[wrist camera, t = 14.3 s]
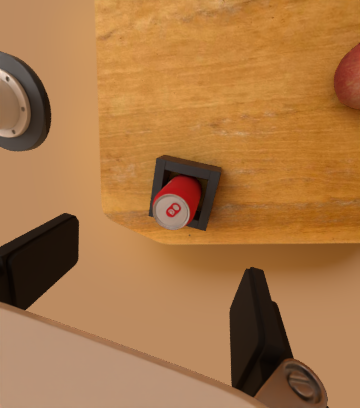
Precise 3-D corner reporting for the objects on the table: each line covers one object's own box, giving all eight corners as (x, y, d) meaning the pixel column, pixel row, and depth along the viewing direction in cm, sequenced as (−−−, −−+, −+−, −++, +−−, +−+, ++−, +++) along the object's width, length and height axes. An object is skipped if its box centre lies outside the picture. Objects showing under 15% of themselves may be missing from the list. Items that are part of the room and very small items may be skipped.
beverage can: (163, 188, 40) (140, 211, 29) (185, 165, 37) (167, 180, 26) (187, 210, 40) (172, 241, 29) (209, 188, 38) (203, 213, 27)
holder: (156, 207, 41) (148, 216, 37) (164, 154, 37) (156, 158, 33) (207, 220, 40) (205, 231, 36) (221, 167, 36) (221, 172, 32)
